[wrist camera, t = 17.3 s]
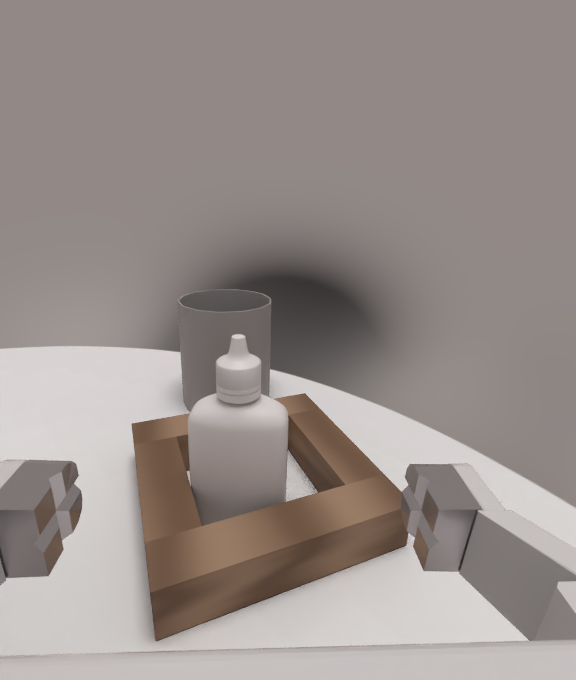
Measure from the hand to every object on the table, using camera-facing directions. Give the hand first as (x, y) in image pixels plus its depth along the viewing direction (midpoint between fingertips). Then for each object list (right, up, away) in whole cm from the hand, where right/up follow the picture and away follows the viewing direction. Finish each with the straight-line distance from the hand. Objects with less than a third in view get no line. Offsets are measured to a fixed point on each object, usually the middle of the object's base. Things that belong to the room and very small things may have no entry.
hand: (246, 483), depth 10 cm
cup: (-5, -2, +29) cm, 30 cm away
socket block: (-1, -7, +17) cm, 18 cm away
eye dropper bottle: (-2, -8, +15) cm, 17 cm away
